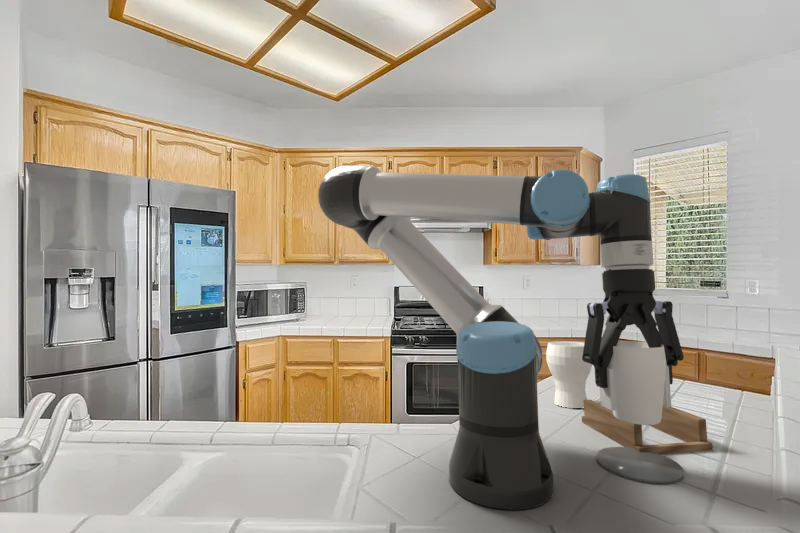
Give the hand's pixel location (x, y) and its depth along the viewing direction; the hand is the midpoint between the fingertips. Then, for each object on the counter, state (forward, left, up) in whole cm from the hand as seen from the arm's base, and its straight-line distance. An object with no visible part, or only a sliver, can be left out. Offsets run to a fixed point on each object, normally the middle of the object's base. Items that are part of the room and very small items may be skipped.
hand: (635, 406), depth 63 cm
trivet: (0, 0, -9) cm, 9 cm away
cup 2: (0, 0, -2) cm, 2 cm away
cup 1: (+8, +33, -10) cm, 35 cm away
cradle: (+10, +12, -9) cm, 18 cm away
